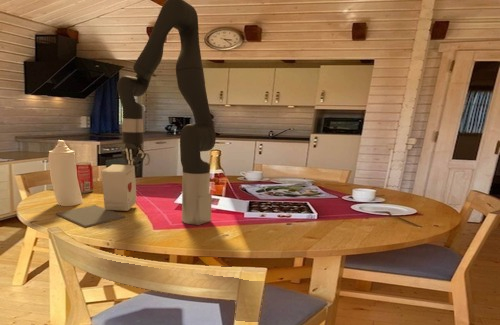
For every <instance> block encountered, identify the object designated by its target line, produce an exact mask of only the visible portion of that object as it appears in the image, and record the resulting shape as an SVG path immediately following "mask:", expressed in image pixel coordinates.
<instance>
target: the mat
mask: <svg viewBox="0 0 500 325" xmlns="http://www.w3.org/2000/svg"><path fill="white" fill-rule="evenodd" d="M56 214H57V215H56ZM55 215H56V216H58V215H59V216H58V217H60V216H61V217H60V218H63V219H66V220H67V221H70V222H72V223H74V224H77V225H79V226H81V227H82V228H89V227H93V226H97V225H101V224H105V223H110V222H113V221H117V220H118V221H119V220H121V219H124V218H126V217H127V216H126V215H124V214H122V213H121V214H120V213H119V212H116V211H114V210H105V207H102V206H98V205H96V204H92V205H88V206H84V207H77V208H72V209H68V210H63V211H59V212H58V211H57V212H55Z"/></svg>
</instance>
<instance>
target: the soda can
mask: <svg viewBox="0 0 500 325" xmlns="http://www.w3.org/2000/svg"><path fill="white" fill-rule="evenodd" d="M76 169H77V179H78V183H79V188H80V192H81V194H87V193H88V194H89V193H91V192H92V191H93V190H94V179H93V178H94V175H93V172H94V171H93V170H94V169H93V165H92V163H91V162H88V161H87V162H76Z"/></svg>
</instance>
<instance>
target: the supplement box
mask: <svg viewBox="0 0 500 325" xmlns="http://www.w3.org/2000/svg"><path fill="white" fill-rule="evenodd" d="M101 183H102V193H103V202H104V203H103V204H104V208H105V210H111V211H124V212H125V211H127V212H128V211H129V210H130V209H131V208H133V206H134V205H135V204H136V203H137V202H138V201H137V186H136V185H137V184H136V176H135V167H134V165H128V164H111V165H108V167H105V168H104V169H103V170H102V171H101Z"/></svg>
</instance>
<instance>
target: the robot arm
mask: <svg viewBox="0 0 500 325" xmlns="http://www.w3.org/2000/svg"><path fill="white" fill-rule="evenodd" d="M197 12H198V11H197V10H196V9H195V7H194V6H193V5H192V4H190V3H189V2H187V1H186V0H165V1H164V3H163V4H162V7H161V9H160V11H159V14H158V16H157V18H156V20H155V23H154V26H153V27H152V30H151V33H150V35H149V37H148V40H147V41H146V44H145V46H144V48H143V49H142V51H141V53H140V54H139V56H138V57H137V59H136V60H135V62H134V63H133V68H132V69H133V71H134V72H135V73H136V75H135V76H130V75H122V76H121V77H120V78H118V81H117V86H116V88H117V90H116V91H117V93H118V97H119V100H120V104H121V108H122V124H121V133H122V135H121V136H122V139H121V140H122V143H123V144H125V145H124V149H123V150H121V155H122V157H123V159H124V162H125V165H134V167H135V177H137V176H138V166H141V165H142V164H143V162H144V160H145V158H146V155H147V154H146V152H143V151H142V146H141V145H142V144H144V122H143V106H142V104H141V103H139V102H137V101H136V98H135V97H142V96H143V95H144V94H145V93H146V92H147V90H148V88H149V85H150V82H151V80H152V75H153V74H155V72H156V70H157V69H158V67H159V65H160V63H161V62H162V59H163V55H164V47H165V42H166V39H167V36H168V35H169V33H170V32H171V30H172V29H176V30H177V31H178V34H179V40H180V51H179V55H178V57H177V61H176V62H175V76H176V80H177V86H178V90H179V93H180V94H181V95H182V97H183V99H184V100H185V102H186V104H188V107H189V108H190V109H191V112H192V114H193V119H194V124H193V123H191V124H190V123H189V124H185V125H184V126H183V128H182V129H181V131H180V134H179V149H180V150H179V152H180V155H179V156H180V164H181V167H182V188H181V190H182V192H181V193H182V195H181V197H182V198H181V199H182V200H181V222H182V223H184V224H188V225H197V226H200V225H204V224H206V223H208V222H209V223H210V222H212V194H211V193H210V186H211V185H210V184H211V182H210V181H211V165H210V163H209V162H207V161H204V160H203V159H202V158H201V153H202V152H209V151H211V150H212V149H213V148H214V147H215V144H216V131H215V130H216V129H215V127H214V122H213V118H212V115H211V110H210V107H209V100H208V95H207V94H208V93H207V89H206V79H205V72H204V66H203V60H202V55H201V47H200V36H199V34H200V33H199V32H200V31H199V18H198V13H197Z"/></svg>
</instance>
